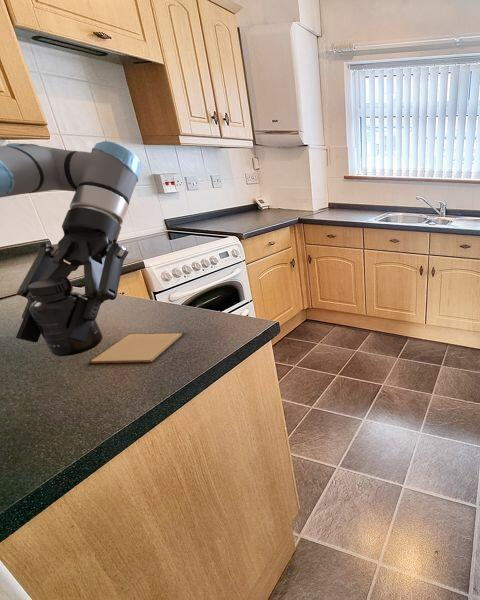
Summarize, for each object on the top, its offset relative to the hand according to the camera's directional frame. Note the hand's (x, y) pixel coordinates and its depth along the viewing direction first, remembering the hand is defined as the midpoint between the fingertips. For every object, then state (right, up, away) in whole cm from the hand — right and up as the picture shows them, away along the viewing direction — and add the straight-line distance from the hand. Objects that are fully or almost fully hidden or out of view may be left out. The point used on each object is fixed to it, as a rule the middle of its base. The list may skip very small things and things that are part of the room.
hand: (51, 339), depth 53 cm
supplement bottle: (0, -2, +5) cm, 5 cm away
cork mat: (-1, -4, +20) cm, 20 cm away
